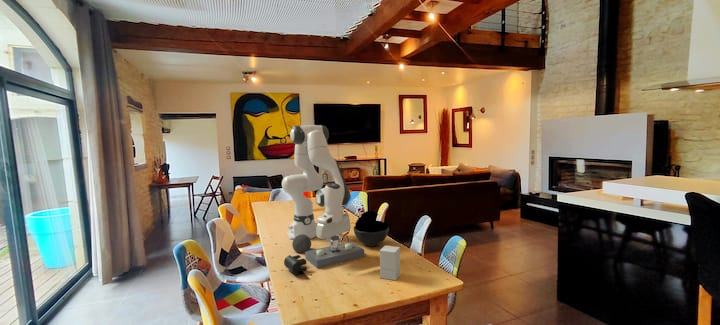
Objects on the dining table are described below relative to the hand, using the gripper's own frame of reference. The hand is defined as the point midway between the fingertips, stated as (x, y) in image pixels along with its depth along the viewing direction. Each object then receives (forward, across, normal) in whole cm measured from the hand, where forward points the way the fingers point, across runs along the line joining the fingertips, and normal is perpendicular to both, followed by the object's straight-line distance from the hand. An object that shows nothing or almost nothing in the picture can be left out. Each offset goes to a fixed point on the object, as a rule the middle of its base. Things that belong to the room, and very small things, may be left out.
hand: (334, 243), depth 164 cm
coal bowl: (+9, -29, -1) cm, 31 cm away
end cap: (+9, +22, -3) cm, 24 cm away
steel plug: (+7, 0, 0) cm, 7 cm away
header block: (+9, 0, 0) cm, 9 cm away
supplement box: (+9, -4, +32) cm, 34 cm away
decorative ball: (+9, +5, -21) cm, 23 cm away
